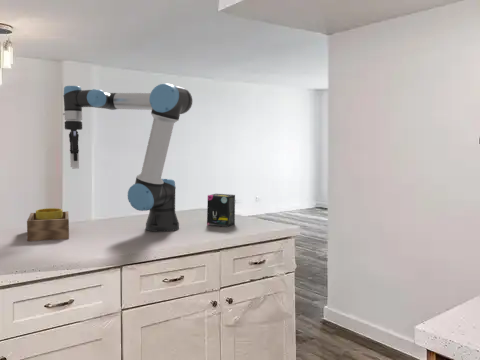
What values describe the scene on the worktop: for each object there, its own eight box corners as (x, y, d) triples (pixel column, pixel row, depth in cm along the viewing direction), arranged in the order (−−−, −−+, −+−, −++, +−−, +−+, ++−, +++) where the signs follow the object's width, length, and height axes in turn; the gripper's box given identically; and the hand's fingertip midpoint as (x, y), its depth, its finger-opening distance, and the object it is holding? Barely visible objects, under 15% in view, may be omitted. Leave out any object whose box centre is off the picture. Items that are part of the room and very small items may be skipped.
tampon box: (206, 225, 221) (206, 195, 219) (214, 222, 229) (215, 193, 228) (227, 227, 216) (227, 196, 215) (235, 224, 225) (235, 194, 224)
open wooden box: (68, 228, 208) (68, 211, 207) (69, 238, 187) (68, 219, 186) (31, 230, 202) (30, 212, 202) (27, 241, 181) (26, 221, 181)
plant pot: (53, 235, 188) (52, 212, 187) (31, 234, 190) (30, 211, 190) (67, 231, 198) (67, 208, 198) (46, 229, 200) (45, 207, 200)
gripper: (63, 122, 217) (64, 166, 219) (65, 119, 194) (67, 169, 196) (80, 122, 220) (81, 166, 222) (84, 119, 197) (85, 168, 199)
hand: (74, 167), depth 209 cm, fingers open, 13 cm apart
